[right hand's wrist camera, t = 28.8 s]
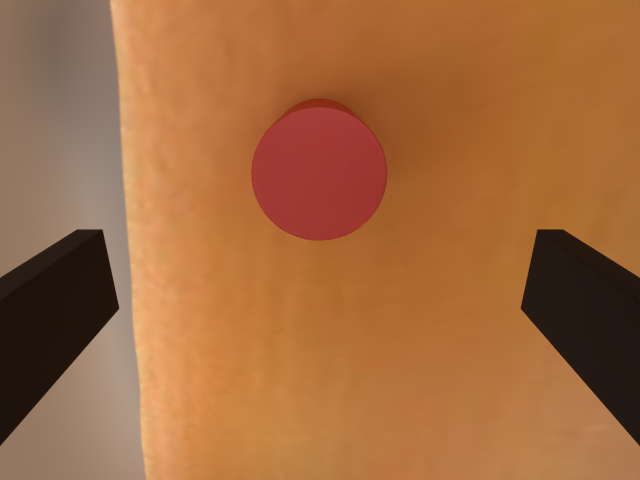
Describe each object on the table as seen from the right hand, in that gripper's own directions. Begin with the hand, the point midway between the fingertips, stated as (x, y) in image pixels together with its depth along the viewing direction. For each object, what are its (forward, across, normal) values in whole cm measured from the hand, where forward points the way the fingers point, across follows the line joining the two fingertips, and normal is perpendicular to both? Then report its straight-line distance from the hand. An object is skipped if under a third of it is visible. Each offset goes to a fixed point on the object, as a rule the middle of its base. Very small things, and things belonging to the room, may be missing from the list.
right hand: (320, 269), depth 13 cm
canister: (+24, 0, 0) cm, 24 cm away
